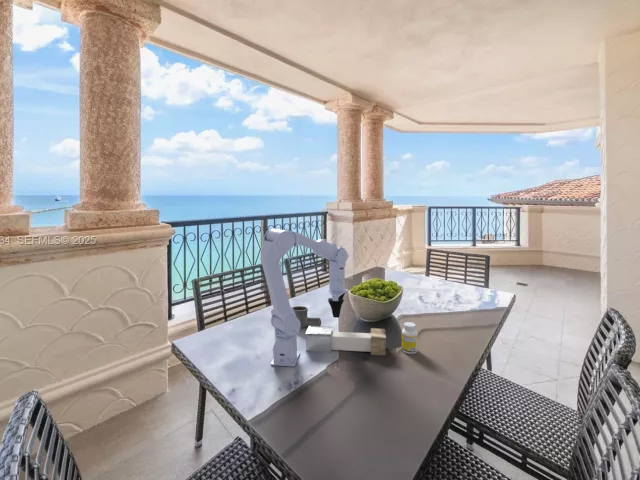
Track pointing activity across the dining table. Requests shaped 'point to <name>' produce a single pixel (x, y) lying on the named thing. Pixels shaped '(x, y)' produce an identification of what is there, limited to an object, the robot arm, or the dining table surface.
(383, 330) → the socket
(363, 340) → the long white bar
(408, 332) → the supplement bottle
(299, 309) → the pipe
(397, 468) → the dining table surface
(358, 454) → the dining table surface
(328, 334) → the sleeve
